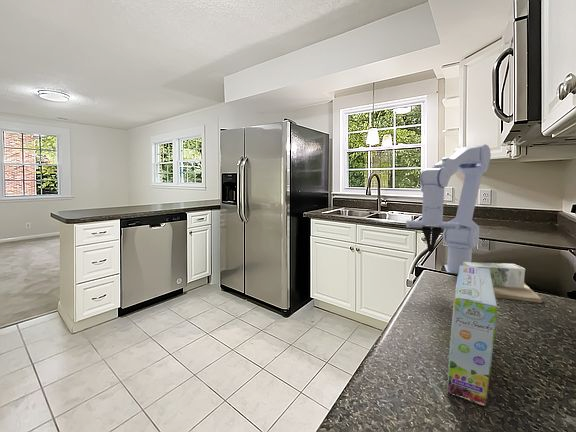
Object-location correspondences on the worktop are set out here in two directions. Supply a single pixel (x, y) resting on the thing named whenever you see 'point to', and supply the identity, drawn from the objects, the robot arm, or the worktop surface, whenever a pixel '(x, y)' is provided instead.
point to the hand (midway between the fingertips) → (430, 251)
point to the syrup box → (502, 273)
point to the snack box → (472, 334)
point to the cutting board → (517, 293)
